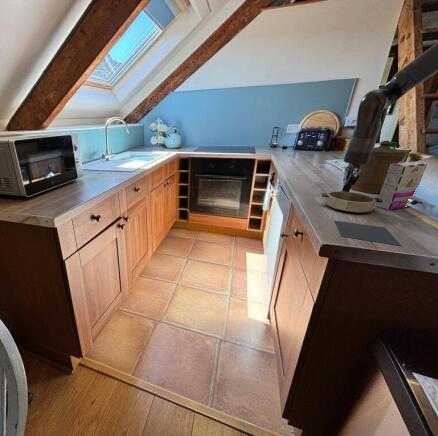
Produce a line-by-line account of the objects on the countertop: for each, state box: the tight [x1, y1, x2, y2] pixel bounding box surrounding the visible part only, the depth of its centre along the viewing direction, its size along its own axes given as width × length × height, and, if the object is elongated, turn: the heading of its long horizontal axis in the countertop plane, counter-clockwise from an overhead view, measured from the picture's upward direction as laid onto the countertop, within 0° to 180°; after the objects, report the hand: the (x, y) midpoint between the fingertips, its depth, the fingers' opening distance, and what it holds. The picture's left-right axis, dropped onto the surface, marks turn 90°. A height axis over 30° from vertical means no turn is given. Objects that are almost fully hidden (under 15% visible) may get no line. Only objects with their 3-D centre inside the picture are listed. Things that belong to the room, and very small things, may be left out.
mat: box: [334, 220, 402, 247], centre depth 73 cm, size 13×13×1 cm
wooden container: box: [350, 140, 407, 195], centre depth 110 cm, size 15×15×22 cm
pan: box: [320, 190, 383, 214], centre depth 91 cm, size 18×14×5 cm
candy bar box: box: [375, 161, 428, 211], centre depth 89 cm, size 11×5×16 cm, turn 105°
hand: (344, 193), depth 98 cm, fingers closed
